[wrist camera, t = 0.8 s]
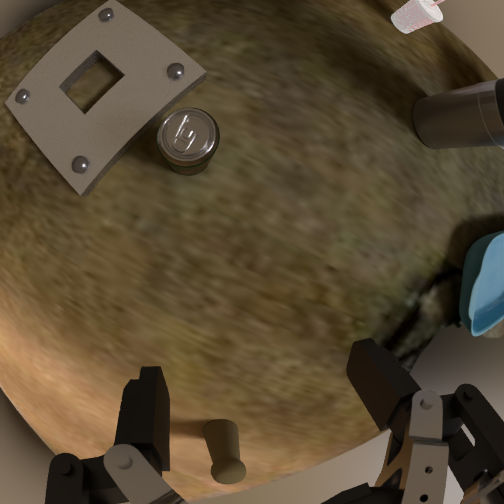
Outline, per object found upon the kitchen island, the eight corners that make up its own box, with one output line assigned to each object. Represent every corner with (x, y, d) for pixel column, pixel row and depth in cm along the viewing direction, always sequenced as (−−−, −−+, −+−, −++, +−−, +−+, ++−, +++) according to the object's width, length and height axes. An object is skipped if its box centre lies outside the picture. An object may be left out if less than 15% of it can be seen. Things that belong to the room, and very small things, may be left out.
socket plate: (115, 7, 23) (111, -5, 20) (205, 79, 29) (206, 69, 26) (13, 106, 23) (2, 101, 20) (87, 195, 29) (78, 195, 26)
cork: (217, 444, 41) (226, 492, 30) (195, 429, 39) (200, 480, 29) (245, 430, 41) (259, 478, 31) (223, 414, 39) (234, 465, 29)
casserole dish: (440, 337, 48) (462, 351, 41) (451, 235, 42) (479, 242, 36) (510, 292, 54) (526, 299, 47) (517, 217, 49) (536, 221, 42)
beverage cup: (416, 40, 33) (466, 17, 20) (393, 32, 32) (445, 3, 19) (406, 16, 32) (452, -10, 18) (383, 7, 30) (429, -24, 17)
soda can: (219, 147, 31) (233, 123, 20) (196, 183, 32) (198, 178, 20) (183, 127, 30) (178, 93, 18) (160, 163, 30) (142, 146, 19)
